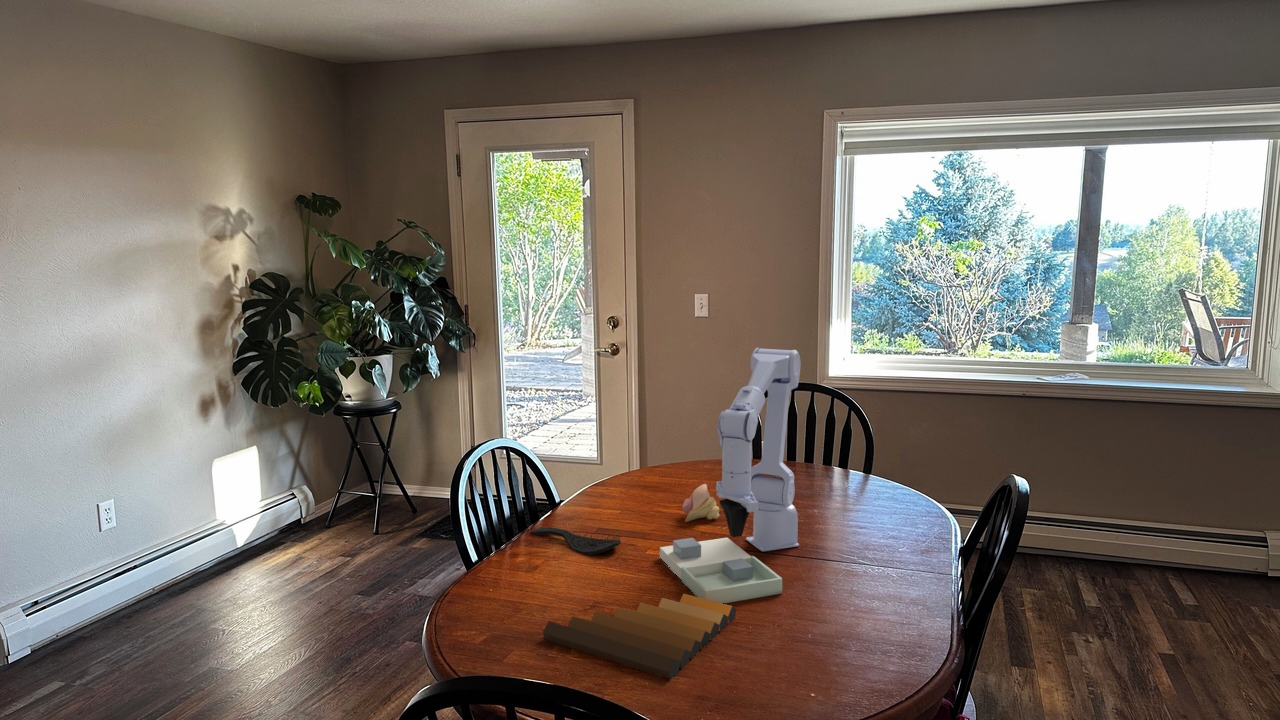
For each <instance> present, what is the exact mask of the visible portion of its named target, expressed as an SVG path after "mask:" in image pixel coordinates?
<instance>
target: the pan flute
mask: <svg viewBox="0 0 1280 720" xmlns="http://www.w3.org/2000/svg"><path fill="white" fill-rule="evenodd" d="M736 613H737V607H735V606H733V605H729V604H728V603H724V604H723V603H719V602H715V601H711V600H707V599H703V598H699V597H696V596H695V595H690V594H687V593H683V594H682V596H681V598H680V600H679V601H676V600H671V599H669V598H664V597H662V598H661V600H660V602H659V603H658V606H655V605H652V604H650V603H649V604H648V603H645V602H640V603H639V604H638V607H637V609H636V611H635V610H633V609H627V608H624V607H620V606H618V607H617V608H616V611H615V613H614V615H610V614H606V613H603V612H599V611H595V612H594V614H593V616H592V618H591V620H587V619H584V618H579V617H576V616H573V615H572V616H571V618H570V621H569V622H568V624H567V626H566V625H563V624H559V623H556V622H553V621H550V620H549V621H548V622H547V623H546V625H545V627H544V629H543V631H542V635H543V639H544V640H546V641H548V642H551V643H554V644H557V645H560V646H564V647H567V648H569V649H570V648H571V649H573V650H577V651H580V652H582V651H583V653H585V652H586V654H588V653H590V654H589V655H591V654H593V655H592V656H594V655H596V656H595V657H598V656H599V658H601V657H602V658H601V659H604V658H606V659H605V660H607V659H609V660H608V661H610V660H612V661H611V662H613V661H615V662H614V663H616V662H618V663H617V664H620V663H621V664H620V665H623V664H625V665H624V666H626V665H628V666H627V667H629V666H631V667H630V668H632V667H634V668H633V669H635V668H638V669H641V670H644V671H643V672H645V671H647V672H646V673H648V672H650V673H649V674H651V673H653V674H652V675H654V674H656V675H655V676H657V675H660V676H662V677H661V678H663V677H664V679H667V678H668V679H667V680H670V679H671V680H672V679H673V678H675V676H676V675H678V674H679V671H680V670H683V669H682V668H683V667H684V666H685V665H686V664H687V663H688V662H689V663H690V660H693V659H694V658H695V657H696V656H697V655H698V654H699V653H700V649H702V648H703V649H705V647H707V646H708V645H709V644H708V643H710V640H712V639H713V638H714V637H715V636H716V635H717V634H719V632H718V631H721V632H723V630H724V629H725V628H727V626H728V623H729V624H730V623H731V622H732V621H734V620H735V619H736ZM717 636H718V635H717ZM717 636H716V637H717ZM716 637H715V638H716ZM715 638H714V639H715ZM714 639H713V640H714ZM713 640H712V641H713ZM707 644H708V645H707ZM706 645H707V646H706ZM704 646H705V647H704ZM703 649H702V650H703ZM698 652H699V653H698ZM697 653H698V654H697ZM696 654H697V655H696ZM695 655H696V656H695ZM694 656H695V657H694ZM693 657H694V658H693ZM690 658H691V659H690ZM692 658H693V659H692ZM689 663H688V664H689ZM688 664H687V665H688ZM687 665H686V666H687ZM686 666H685V667H686ZM685 667H684V668H685ZM679 668H681V669H679ZM638 669H637V670H638ZM641 670H640V671H641ZM660 676H659V677H660ZM672 677H673V678H672Z"/></svg>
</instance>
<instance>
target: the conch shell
mask: <svg viewBox="0 0 1280 720" xmlns="http://www.w3.org/2000/svg"><path fill="white" fill-rule="evenodd" d="M682 512H684V513H685V514H686V518H685V520H684V522H685V523H687V522H690V521H693V520H696V519H701V518H706V519H707V520H710V521H711V520H712V519H715V520H717V519H718V518H719V517H720V513H719V512H720V507H719V506H717V501H716V499H715V498H714V497H713V496H710V492H709V491H708V485H707V484H706V483H704V484H701V485H699V486H698V487H696V488H695V490H693V492H692V494H691V495H690V496H689V498H685V499H684V501H683V504H682Z"/></svg>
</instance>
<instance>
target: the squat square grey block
mask: <svg viewBox="0 0 1280 720" xmlns="http://www.w3.org/2000/svg"><path fill="white" fill-rule="evenodd" d="M723 574H724V575H726V576H727V577H728V578H729V579H730V580H731V581H733V582H735V581H740V580H746V579H752V578H753V566H752V565H751V564H749V563H748V562H747V561H745V560H744V559H743V558H741V559H735V560H729V561H723Z"/></svg>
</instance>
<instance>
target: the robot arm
mask: <svg viewBox="0 0 1280 720" xmlns="http://www.w3.org/2000/svg"><path fill="white" fill-rule="evenodd" d="M800 356H801V355H800V354H799V352H798V350H797V349H792V350H791V349H790V350H789V349H776V348H761V347H755V349H754V350H753V351H752V353H751V357H750V371H751V376H750V378H749V380H748V384H747V385H745V386H743V387H741V388H740V389H739V391H738V393H737V394H736V397H735V398H734V399H733V401H732V403H731V405H730V407H729V408H728V409H725V410H723V411H721V412H720V414H719V417H718V420H717V436H718V437H719V447H721V448H722V449H721V457H722V459H721V463H722V464H721V480H718V481H716V485H715V486H716V488H715V489H716V497H718V498H720V500H719V505H720V507H721V508H722V510H723V513H724V515H725V519H726V524H727V529H728V532H729V535H730V536H731V537H732V538H736V537H737V538H738V537H742V536H743V533H744V530H745V526H746V522H747V519H748V518H749V515H750V513H753V530H752V531H753V533H752V535H753V536H747V537H746V538H745V539H746V541H747V542H749V543H750V544H751V545H753V546H754V547H755V548H756V549H758V550H759V551H761V552H771V551H777V550H783V549H788V548H789V549H790V548H795V547H799V546H800V543H798V538H799V537H798V534H799V533H798V530H799V526H798V525H799V523H798V522H799V516H798V512H797V508H796V507H795V505H793V502H794V500H795V499H794V498H795V491H796V490H795V488H796V487H795V474H794V472H793V471H792V470H791V469H790V468H789V467H788V466H787V465H786V464H785V463H784V456H785V446H786V444H785V443H786V435H787V434H786V433H787V425H788V416H789V415H788V414H789V407H790V405H789V404H790V397H791V391H793V390H794V389H797V388H798V386H799V382H800V376H801V375H800V374H801V364H802V363H801V357H800ZM766 391H767V402H766V397H765V393H766ZM765 403H766V410H765V412H766V413H765V420H764V422H765V423H764V430H763V431H764V432H763V441H762V452H761V461H760V462H758V463H756V464H754V465H753V466H752V448H753V447H752V441H753V439H754V438H755V435H756V431H757V427H758V423H759V418H758V417H759V415H760V413H761V412H762V409H763V407H764V405H765ZM762 474H763V475H762ZM768 475H771V476H768ZM776 476H777V477H776Z"/></svg>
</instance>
